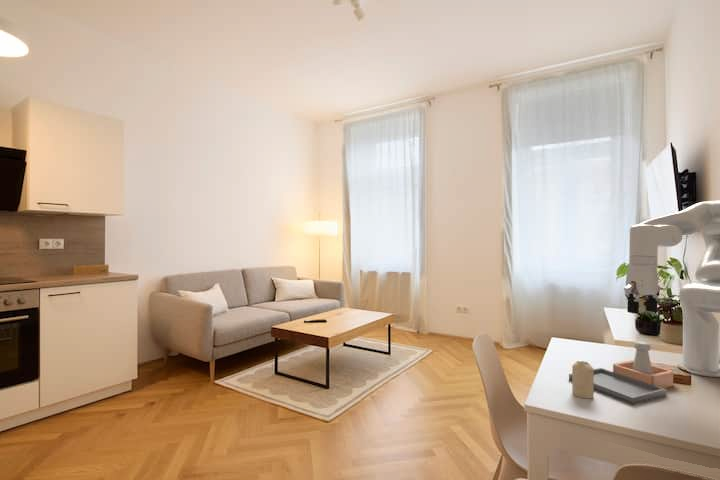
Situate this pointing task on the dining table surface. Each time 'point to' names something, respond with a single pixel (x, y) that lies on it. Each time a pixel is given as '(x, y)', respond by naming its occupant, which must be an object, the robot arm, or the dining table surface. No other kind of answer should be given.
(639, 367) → the salt shaker
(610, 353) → the dining table surface
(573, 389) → the candle
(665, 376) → the open container
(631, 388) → the tray
